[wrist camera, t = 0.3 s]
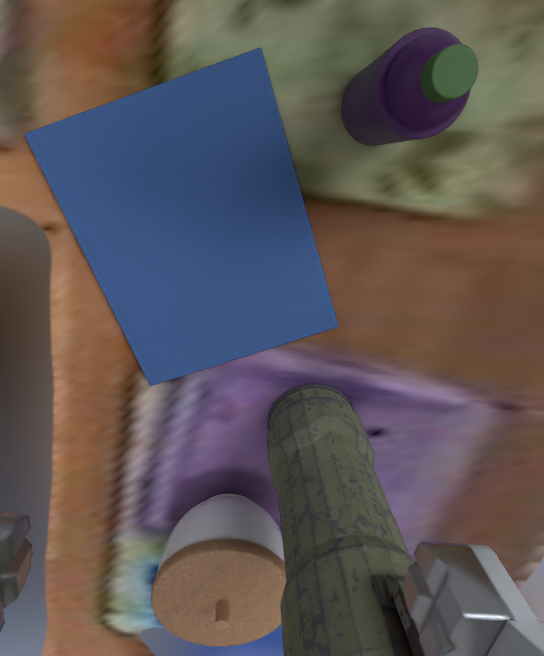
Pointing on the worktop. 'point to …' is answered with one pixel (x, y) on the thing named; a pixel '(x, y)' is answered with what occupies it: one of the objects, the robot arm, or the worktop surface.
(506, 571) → the robot arm
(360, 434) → the thermos
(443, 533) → the worktop surface
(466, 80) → the purple bottle
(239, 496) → the lidded bowl
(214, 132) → the napkin
